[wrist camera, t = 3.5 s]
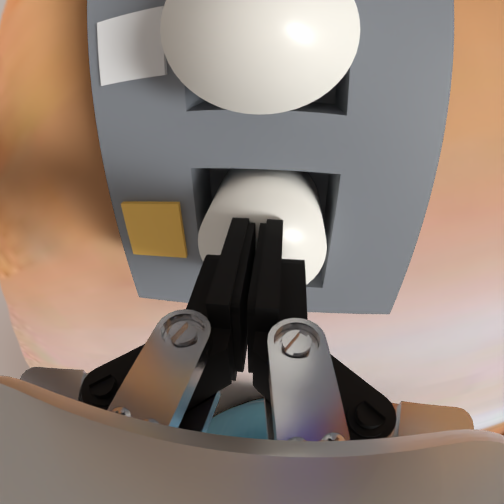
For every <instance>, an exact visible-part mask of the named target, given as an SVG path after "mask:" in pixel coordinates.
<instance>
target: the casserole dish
mask: <svg viewBox="0 0 504 504" xmlns="http://www.w3.org/2000/svg"><path fill="white" fill-rule="evenodd" d="M207 433H210V434H218V435H225V436H233V437H243V438H253V439H266V440H267V433H266V420H265V407H264V399H258V400H253V401H250V402H247V403H244V404H242V405H239V406H236V407H233V408H231V409H228V410H226V411H224V412H222V413H220V414H218V415H216V416H215V417H213V418H212V420H211V422H210V425H209V428H208V430H207Z"/></svg>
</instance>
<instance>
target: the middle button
mask: <svg viewBox="0 0 504 504" xmlns="http://www.w3.org/2000/svg"><path fill="white" fill-rule="evenodd" d="M160 34H161V43H162V47H163V51H164V54H165V56H166V59H167V61H168V63H169V65H170V67H171V68H172V70H173V72H174V73H175V74H176V76H177V77H178V78H179V80H180V81H181V82H182V83H183V84H184V85H185V86H186V87H187V88H188V89H189V90H191V91H192V92H193V93H195V94H196V95H197V96H199V97H200V98H202V99H204V100H205V101H207V102H209V103H211V104H213V105H216V106H218V107H220V108H223V109H227V110H230V111H233V112H239V113H244V114H257V115H261V114H275V113H282V112H286V111H290V110H294V109H297V108H300V107H302V106H305V105H308V104H309V103H311V102H313V101H315V100H317V99H319V98H320V97H322V96H323V95H324V94H326V93H327V92H329V91H330V90H331V89H332V88H333V87H334V86H335V85H336V84H338V82H339V81H340V80H341V79H342V78H343V76H344V75H345V74H346V72H347V71H348V69H349V68H350V66H351V64H352V62H353V60H354V57H355V55H356V53H357V49H358V45H359V39H360V18H359V13H358V9H357V6H356V3H355V0H166V1H165V4H164V7H163V11H162V16H161V23H160Z"/></svg>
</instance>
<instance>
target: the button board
mask: <svg viewBox="0 0 504 504" xmlns="http://www.w3.org/2000/svg"><path fill="white" fill-rule="evenodd" d="M165 1H166V0H87V29H88V50H89V65H90V76H91V86H92V95H93V103H94V111H95V118H96V124H97V131H98V137H99V143H100V149H101V154H102V159H103V164H104V169H105V174H106V179H107V184H108V188H109V193H110V197H111V201H112V205H113V210H114V214H115V218H116V221H117V225H118V229H119V233H120V236H121V240H122V244H123V247H124V251H125V254H126V257H127V261H128V264H129V267H130V270H131V274H132V277H133V280H134V283H135V286H136V289H137V292H138V295H139V297H142V298H150V299H158V300H167V301H176V302H186V303H188V302H189V299H190V297H191V294H192V291H193V288H194V286H195V283H196V280H197V277H198V275H199V272H200V269H201V266H202V264H203V261H202V259H201V256H200V253H199V248H198V234H199V230H200V226H201V224H202V222H203V220H204V217H205V215H206V213H207V211H208V209H209V207H210V205H211V203H212V201H213V199H214V197H215V195H216V193H217V191H218V189H219V187H220V185H221V182H222V180H223V178H224V177H225V176H226V174H227V173H228V172H229V171H230V170H231V168H236V169H268V170H288V171H305V172H307V173H308V174H309V176H310V177H311V178H312V180H313V182H314V184H315V186H316V188H317V192H318V196H319V202H320V207H321V212H322V218H323V224H324V229H325V235H326V243H327V251H326V257H325V261H324V263H323V266H322V268H321V269H320V271H319V273H318V274H317V275H316V276H315V278H314V279H313V280H311V281H310V282H309V283H308V284H307V285H306V294H307V312H323V313H353V314H390V312H391V309H392V307H393V305H394V302H395V300H396V297H397V295H398V292H399V290H400V287H401V285H402V282H403V279H404V277H405V274H406V271H407V269H408V266H409V263H410V260H411V257H412V254H413V252H414V249H415V246H416V243H417V240H418V236H419V233H420V230H421V227H422V223H423V220H424V217H425V213H426V210H427V206H428V203H429V199H430V195H431V191H432V187H433V183H434V179H435V175H436V171H437V166H438V162H439V157H440V152H441V147H442V142H443V136H444V131H445V125H446V118H447V112H448V104H449V97H450V88H451V78H452V66H453V49H454V0H355V3H356V6H357V9H358V13H359V18H360V39H359V45H358V49H357V53H356V55H355V57H354V60H353V62H352V64H351V66H350V68H349V69H348V71H347V72H346V74H345V75H344V76H343V78H342V79H341V80H340V81H339V82H338V84H336V85H335V86H334V87H333V88H332V89H331V90H330V91H329V92H327V93H326V94H324V95H323V96H322V97H320V98H319V99H317V100H315V101H313V102H311V103H309V104H308V105H305V106H302V107H300V108H297V109H294V110H290V111H286V112H282V113H275V114H261V115H257V114H244V113H239V112H233V111H230V110H227V109H223V108H220V107H218V106H216V105H213V104H211V103H209V102H207V101H205V100H204V99H202V98H200V97H199V96H197V95H196V94H195V93H193V92H192V91H191V90H189V89H188V88H187V87H186V86H185V85H184V84H183V83H182V82H181V81H180V80H179V78H178V77H177V76H176V74H175V73H174V72H173V70H172V68H171V67H170V65H169V63H168V61H167V59H166V56H165V54H164V51H163V47H162V43H161V34H160V23H161V16H162V11H163V7H164V4H165Z"/></svg>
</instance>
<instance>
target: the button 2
mask: <svg viewBox="0 0 504 504" xmlns="http://www.w3.org/2000/svg"><path fill="white" fill-rule="evenodd" d="M233 217H234V218H249V221H250V223H255V226H256V246H257V239H258V233H259V227H260V223H266V222H267V219H276V220H283V240H282V259H296V260H305V272H306V285H307V284H308V283H309V282H310V281H311V280H313V279H314V278H315V276H316V275H317V274H318V273H319V271H320V269H321V268H322V266H323V263H324V261H325V257H326V251H327V243H326V235H325V229H324V224H323V218H322V212H321V207H320V202H319V196H318V192H317V188H316V186H315V184H314V182H313V180H312V178H311V177H310V176H309V174H308V173H307V172H305V171H288V170H268V169H236V168H231V170H230V171H229V172H228V173H227V174H226V176H225V177H224V178H223V180H222V182H221V185H220V187H219V189H218V191H217V193H216V195H215V197H214V199H213V201H212V203H211V205H210V207H209V209H208V211H207V213H206V215H205V217H204V220H203V222H202V224H201V226H200V230H199V234H198V248H199V253H200V256H201V259H202V261H204V258H205V256H206V255H207V254H210V255H221V252H222V248H223V245H224V242H225V239H226V236H227V233H228V229H229V226H230V223H231V220H232V218H233Z"/></svg>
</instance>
